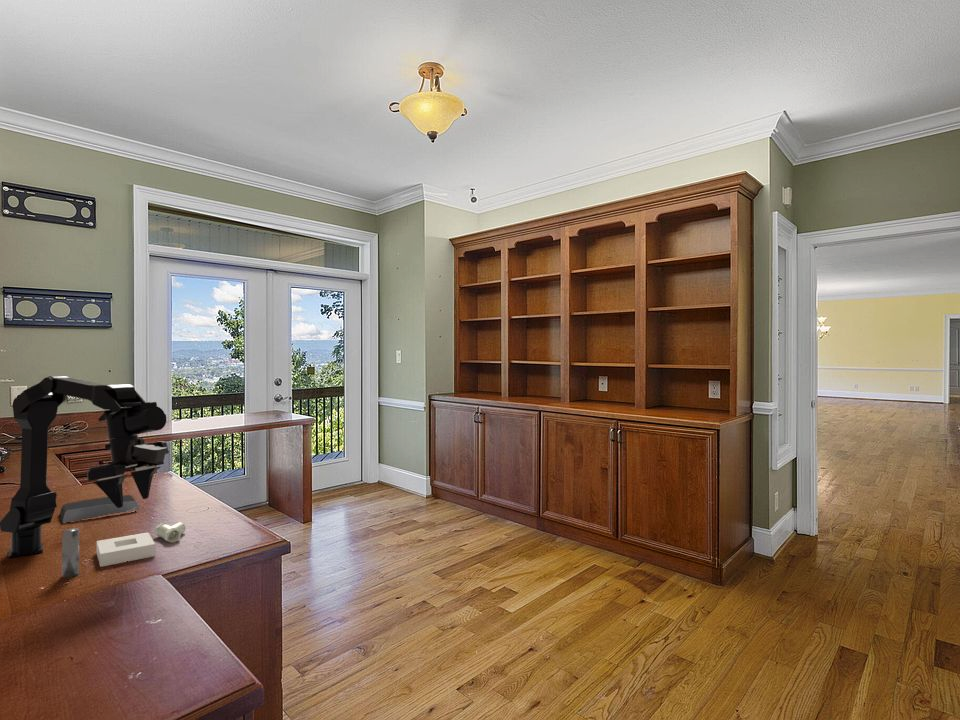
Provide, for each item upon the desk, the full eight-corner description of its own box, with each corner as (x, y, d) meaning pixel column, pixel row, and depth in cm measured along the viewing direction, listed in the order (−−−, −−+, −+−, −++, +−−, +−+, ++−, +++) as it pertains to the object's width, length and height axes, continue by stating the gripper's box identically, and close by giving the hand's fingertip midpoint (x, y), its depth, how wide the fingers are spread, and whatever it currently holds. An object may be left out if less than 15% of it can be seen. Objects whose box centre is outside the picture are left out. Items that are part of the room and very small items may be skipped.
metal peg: (61, 574, 119) (62, 530, 119) (78, 571, 121) (79, 527, 121) (62, 578, 117) (62, 533, 117) (79, 575, 119) (79, 530, 119)
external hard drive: (140, 513, 167) (140, 500, 167) (62, 525, 154) (62, 511, 154) (133, 504, 177) (133, 492, 177) (59, 515, 164) (59, 502, 164)
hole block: (96, 553, 132) (96, 541, 132) (148, 543, 139) (148, 532, 139) (100, 566, 123) (100, 554, 123) (155, 556, 130) (155, 543, 130)
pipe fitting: (180, 533, 149) (154, 537, 144) (181, 519, 149) (155, 523, 144) (193, 540, 144) (166, 544, 139) (194, 525, 144) (167, 529, 139)
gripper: (131, 434, 116) (142, 505, 115) (179, 427, 134) (189, 488, 134) (80, 443, 115) (91, 515, 115) (136, 435, 134) (145, 497, 133)
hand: (133, 503), depth 124 cm, fingers open, 9 cm apart
